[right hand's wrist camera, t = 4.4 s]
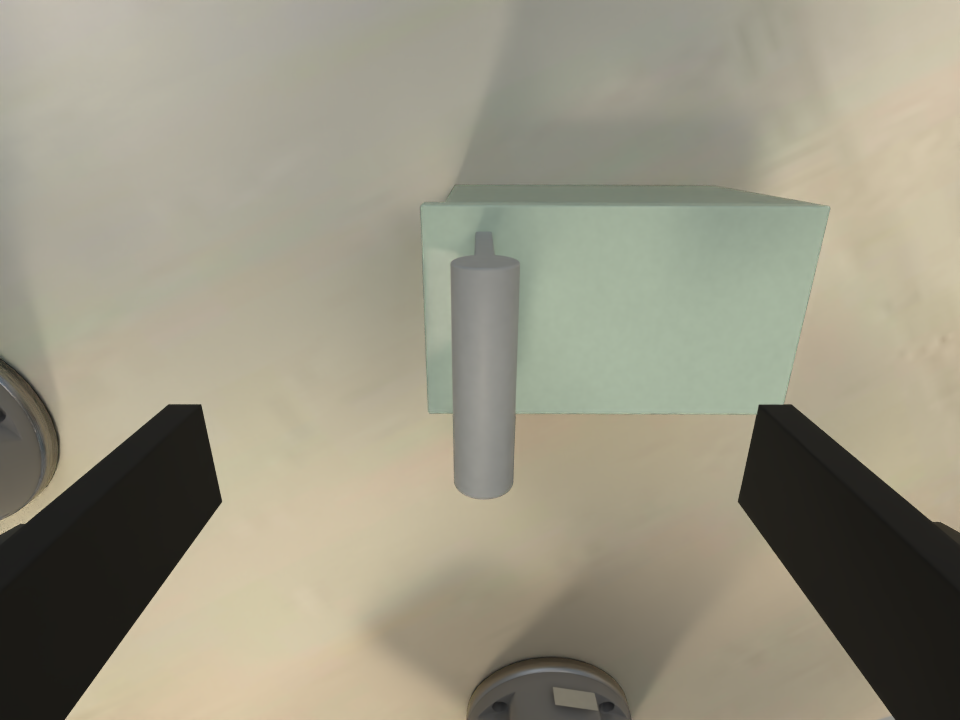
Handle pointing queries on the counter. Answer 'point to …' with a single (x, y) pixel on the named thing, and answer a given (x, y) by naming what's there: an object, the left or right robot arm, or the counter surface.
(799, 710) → the counter surface
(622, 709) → the left robot arm
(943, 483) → the counter surface
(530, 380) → the lid
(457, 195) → the chest
